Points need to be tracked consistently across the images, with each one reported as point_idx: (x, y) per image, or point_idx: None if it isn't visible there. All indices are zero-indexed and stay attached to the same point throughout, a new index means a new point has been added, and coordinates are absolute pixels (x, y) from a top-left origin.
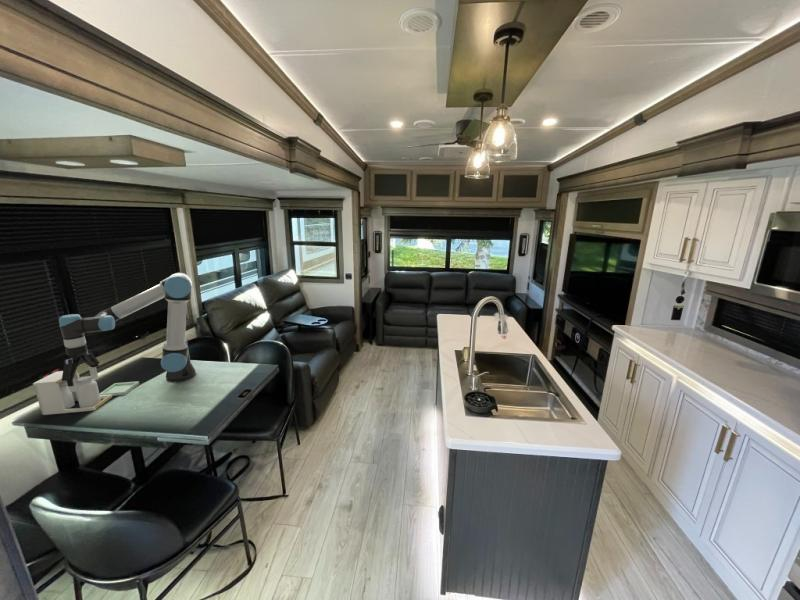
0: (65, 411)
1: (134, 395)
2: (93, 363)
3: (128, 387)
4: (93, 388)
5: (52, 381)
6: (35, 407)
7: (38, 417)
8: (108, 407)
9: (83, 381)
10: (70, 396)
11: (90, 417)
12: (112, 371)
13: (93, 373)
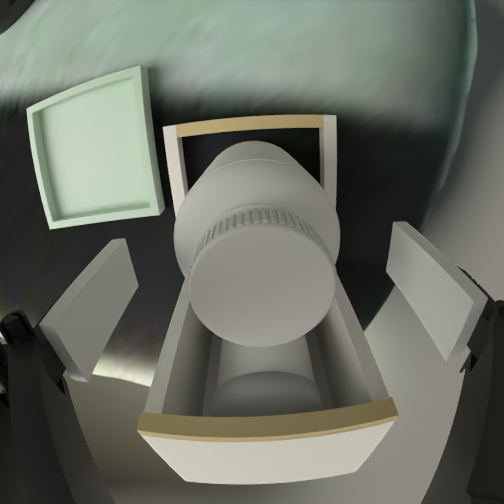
0: None
1: (165, 9)
2: (23, 385)
3: (70, 122)
4: (276, 157)
5: (380, 434)
6: None
7: None
8: (305, 54)
9: (327, 252)
10: None
11: (400, 90)
12: None
13: (104, 298)
